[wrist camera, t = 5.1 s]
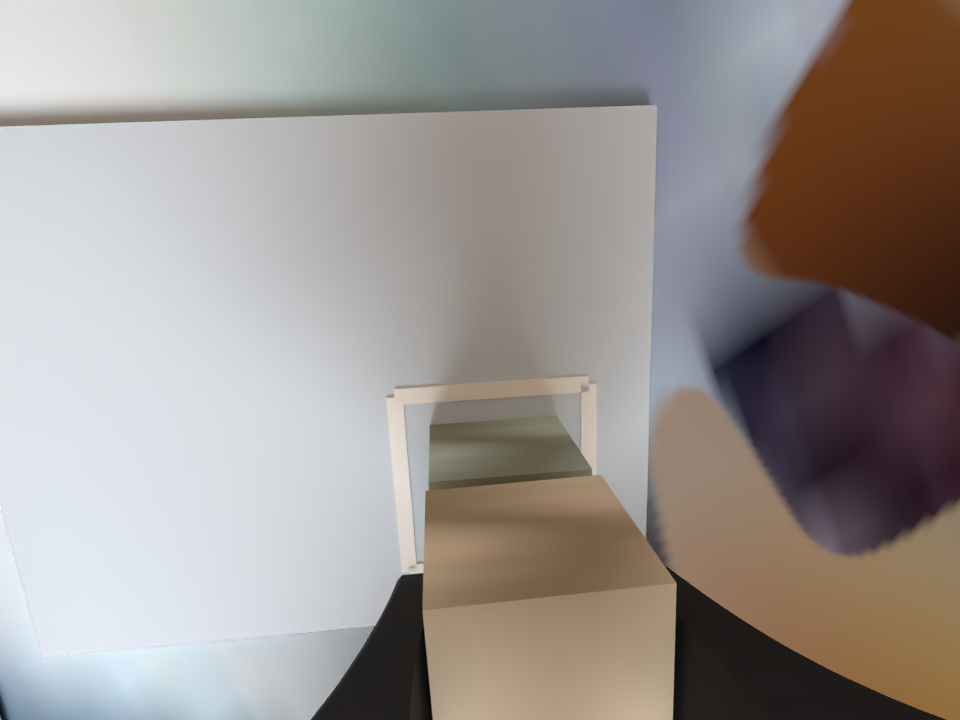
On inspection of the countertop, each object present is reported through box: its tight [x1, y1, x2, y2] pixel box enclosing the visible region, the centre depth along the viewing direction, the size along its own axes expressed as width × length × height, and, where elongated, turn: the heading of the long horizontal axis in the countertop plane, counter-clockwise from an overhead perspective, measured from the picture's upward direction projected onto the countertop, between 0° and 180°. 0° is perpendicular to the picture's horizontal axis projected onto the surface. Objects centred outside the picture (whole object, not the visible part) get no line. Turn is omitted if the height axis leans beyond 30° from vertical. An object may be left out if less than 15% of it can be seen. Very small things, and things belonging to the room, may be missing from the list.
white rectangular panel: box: [0, 105, 657, 658], centre depth 17 cm, size 20×16×1 cm
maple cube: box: [422, 475, 677, 720], centre depth 11 cm, size 4×4×4 cm
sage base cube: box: [428, 416, 592, 491], centre depth 16 cm, size 4×4×4 cm
